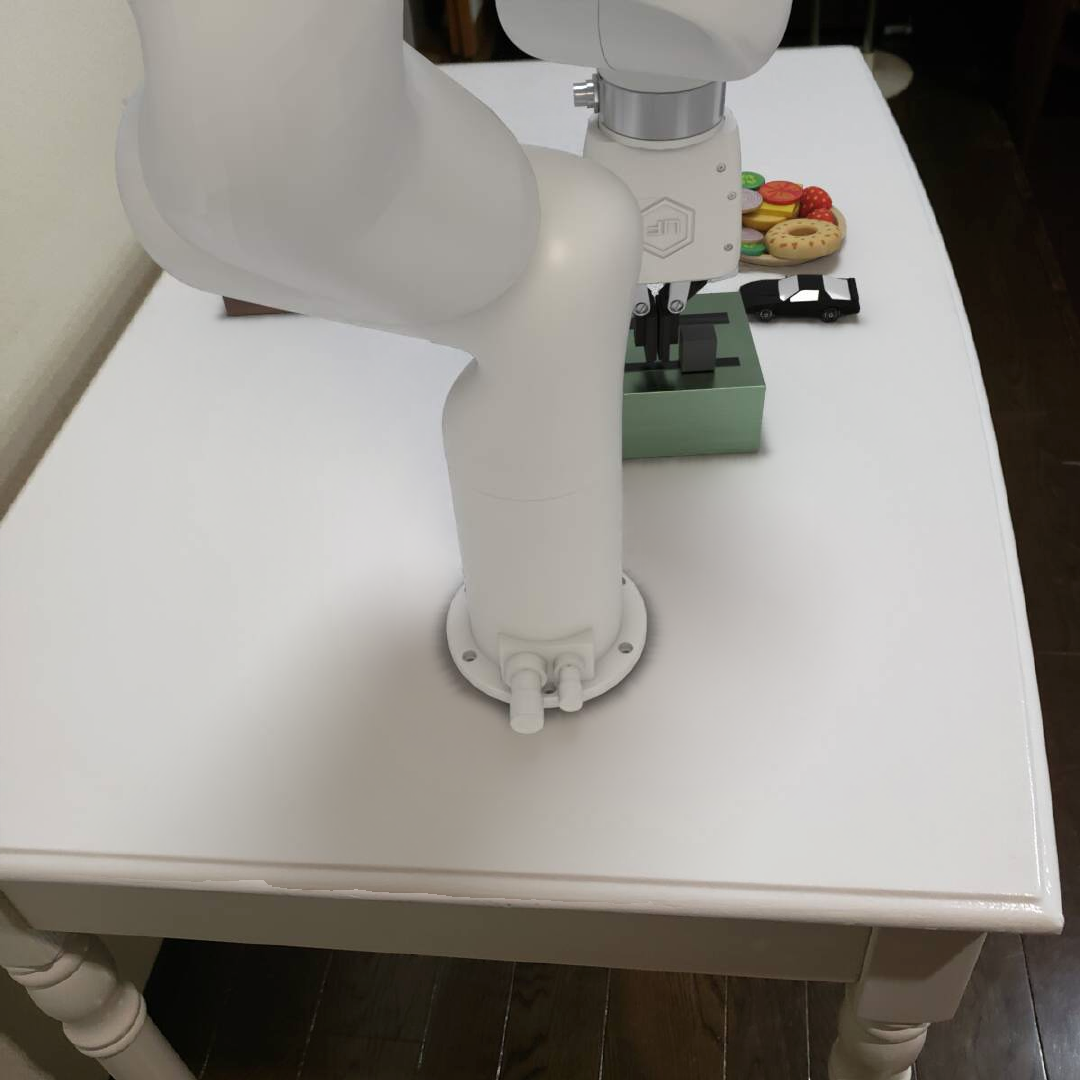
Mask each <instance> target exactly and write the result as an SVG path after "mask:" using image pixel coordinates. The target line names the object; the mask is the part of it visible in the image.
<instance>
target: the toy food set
mask: <svg viewBox="0 0 1080 1080" xmlns="http://www.w3.org/2000/svg"><path fill="white" fill-rule="evenodd" d="M847 228H848V226H847V221H846V218H845V216H844V215H843V213H842V212H841V211H840V210H839V209H838V208H837V207H835V206H834V205H833V200H832V197H831V196H830V194H828V192H827V191H826V190H824V189H823V188H822V187H819V186H815V185H810V186H807V187H805V188H804V184H803V183H797V182H793V181H789V180H772V181H768V182H766V179H765V176H764V175H762V174H760V173H758V172H755V171H748V170H747V171H742V228H741V251H740V259H739V261H741V262H746V263H749V264H753V265H758V266H766V267H789V266H795V265H797V266H798V265H803V264H805V263H808V262H812V261H814V260H817V259H819V258H821V257H824V256H828V255H830V254H833V253H835V252H836V251H838V250H839V249H840V248H841V246H842V241H843V239H844V237H845V236H846V233H847Z"/></svg>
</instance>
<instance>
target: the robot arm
mask: <svg viewBox="0 0 1080 1080" xmlns="http://www.w3.org/2000/svg"><path fill="white" fill-rule="evenodd" d="M494 1H495V8H496V13H497V16H498V19H499V22H500V25H501V27H502V30H503V31H504V32H505V35H506V36H507V37H508V38H509V40H510V41H511V42H512V44H513V45H515V46H516V47H517V48H518V49H519V50H520V51H522V52H524V53H525V54H527V55H529V56H531V57H533V58H536V59H539V60H542V61H546V62H549V63H555V64H560V65H569V66H576V67H585V68H590V69H591V68H592V69H596V73H592V74H591V79H590V78H589V79H585V82H584V81H583V82H573V84H572V85H573V89H572V91H573V105H574V108H580V107H581V108H582V107H586V109H593V112H592V114H591V115H590V116H589V118H588V121H587V126H586V131H585V136H584V142H583V150H582V151H583V152H582V153H583V154H582V156H581V155H579V154H575V153H572V152H569V151H565V150H561V149H556V148H552V147H547V146H541V145H535V144H529V143H522V142H519V141H518V139H517V137H516V135H515V134H514V132H512V130H511V129H510V128H509V127H508V126H507V124H505V122H503V120H502V119H501V118H500V117H499V115H498V114H497V113H496V112H495V111H494V110H493V109H492V108H491V107H490V106H488V104H486V103H485V102H483V101H482V100H481V99H480V98H478V97H477V96H476V95H475V94H474V93H472V92H471V91H470V90H468V89H466V87H464V86H463V85H461V84H460V83H458V82H457V81H456V80H455V79H453V78H452V77H451V76H450V75H448V74H447V73H446V72H444V71H443V69H441V68H440V67H438V66H437V65H436V64H434V62H432V61H431V60H430V59H428V58H427V57H426V56H424V55H423V54H422V53H421V52H419V51H418V50H416V49H415V48H414V47H413V46H412V45H410V44H409V43H408V42H406V40H405V39H404V0H126V2H127V3H128V6H129V8H130V10H131V12H132V15H133V17H134V21H135V24H136V27H137V31H138V35H139V39H140V49H141V55H142V62H143V71H144V77H142V79H141V80H140V82H139V83H138V84H137V86H136V87H135V89H134V90H133V92H132V94H131V95H130V97H129V99H128V101H127V103H126V105H125V108H124V110H123V113H122V115H121V118H120V122H119V126H118V129H117V135H116V140H115V151H114V153H115V154H114V161H115V162H114V168H115V169H114V171H115V178H116V185H117V190H118V196H119V199H120V202H121V206H122V209H123V211H124V213H125V216H126V218H127V221H128V224H129V225H130V228H131V230H132V231H133V233H134V235H135V237H136V238H137V240H138V242H139V243H140V245H141V246H142V248H143V249H144V250H145V252H146V253H147V254H148V256H149V257H150V258H151V259H152V260H153V261H154V262H155V263H156V264H157V265H158V266H159V267H160V268H161V269H162V270H163V271H164V272H166V273H167V274H168V275H169V276H171V277H172V278H174V279H176V280H177V281H179V282H180V283H182V284H184V285H186V286H188V287H190V288H192V289H196V290H199V291H201V292H206V293H208V294H209V293H210V294H214V295H217V296H221V297H222V296H226V297H230V298H234V299H238V300H243V301H247V302H251V303H255V304H260V305H264V306H268V307H273V308H277V309H282V310H286V311H291V312H290V313H295V314H300V315H304V316H305V315H306V316H308V317H309V316H310V317H314V318H318V319H322V320H326V321H331V322H336V323H341V324H345V325H346V324H347V325H351V326H355V327H359V328H366V329H370V330H375V331H380V332H385V333H391V334H396V335H400V336H405V337H410V338H414V339H420V340H423V341H428V342H430V343H431V344H435V345H440V346H445V347H449V348H453V349H456V350H460V351H462V352H465V353H467V354H469V355H470V356H472V357H473V358H472V359H471V360H470V361H469V363H468V364H467V365H465V367H464V368H463V370H462V371H461V372H460V373H459V374H458V376H457V378H456V379H455V380H454V382H453V384H452V385H451V387H450V389H449V391H448V392H447V395H446V397H445V400H444V404H443V408H442V414H441V434H442V443H443V450H444V457H445V458H446V465H447V473H448V479H449V485H450V493H451V500H452V507H453V513H454V519H455V527H456V533H457V540H458V547H459V554H460V559H461V560H460V561H461V567H462V574H463V583H462V584H461V586H460V587H459V588H458V589H457V591H456V593H455V595H454V597H453V598H452V600H451V602H450V605H449V609H448V613H447V615H446V626H445V627H446V629H445V630H446V631H445V633H446V638H447V645H448V649H449V652H450V655H451V657H452V661H453V663H454V664H455V666H456V667H457V669H458V671H459V672H460V674H461V675H462V677H464V678H465V679H466V680H467V681H468V682H469V683H470V684H472V686H473V687H475V688H476V689H478V690H479V691H481V692H483V693H484V694H486V695H487V696H488V697H491V698H493V699H497V700H499V701H501V702H503V703H506V704H509V724H510V728H511V729H512V730H513V731H514V732H516V733H519V734H522V735H531V734H535V733H538V732H540V731H541V730H542V729H543V728H544V726H545V709H554V708H560V710H562V711H564V712H568V713H569V712H570V713H571V712H573V713H574V712H577V711H579V710H580V709H582V708H583V706H584V703H585V702H587V701H589V700H592V699H594V698H596V697H598V696H601V695H603V694H605V693H606V692H608V691H609V690H611V689H612V688H614V687H615V686H617V685H618V684H619V683H620V682H622V681H623V679H625V677H627V676H628V674H630V673H631V672H632V670H633V668H634V667H635V666H636V664H637V663H638V661H639V660H640V658H641V655H642V653H643V651H644V649H645V645H646V641H647V632H648V612H647V609H646V604H645V600H644V598H643V596H642V594H641V592H640V591H639V588H638V587H637V585H636V583H635V582H633V580H632V579H631V578H630V577H629V576H628V574H626V573H625V572H624V571H623V459H622V401H623V378H624V365H625V355H626V347H627V340H628V333H629V327H630V322H631V316H632V311H633V312H634V342H635V347H641V346H644V352H645V358H646V363H654V361H657V354H658V359H659V361H661V362H669V356H670V345H671V344H678V340H679V315H680V312H682V311H683V310H684V309H685V306H686V302H687V301H688V300H689V299H691V298H692V297H693V296H694V295H695V294H698V293H699V292H700V291H701V290H702V289H703V288H704V287H706V285H707V284H709V283H710V284H713V283H717V282H721V281H724V280H728V279H732V278H734V277H736V276H737V275H738V274H739V272H740V267H739V263H740V260H739V259H740V251H741V228H742V172H743V168H742V167H743V164H742V150H741V149H742V148H741V138H740V131H739V130H740V129H739V124H738V120H737V118H736V117H735V115H734V113H733V111H732V110H731V108H729V107H728V106H727V105H725V104H726V94H727V93H726V91H727V82H728V83H729V82H737V81H742V80H745V79H747V78H750V77H752V76H753V75H754V74H757V73H758V72H759V71H760V70H761V69H763V67H764V66H765V65H766V64H767V63H768V62H770V60H771V58H772V57H773V56H774V54H775V52H776V51H777V49H778V47H779V45H780V44H781V42H782V40H783V37H784V34H785V32H786V30H787V26H788V24H789V19H790V15H791V11H792V4H793V0H494ZM659 284H662V287H661V288H660V289H658V290H657V294H655V295H654V294H653V291H652V290H651V288H649V287H648V285H659ZM654 296H655V300H654Z"/></svg>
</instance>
